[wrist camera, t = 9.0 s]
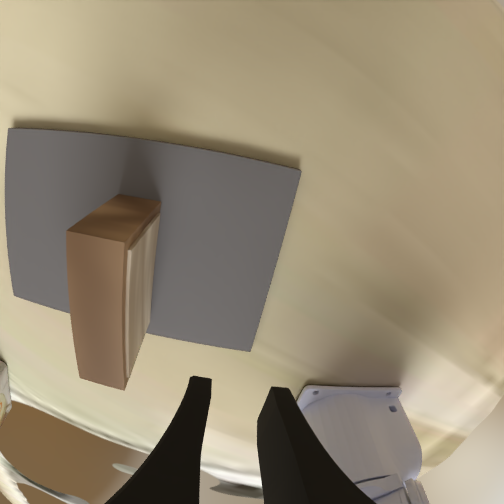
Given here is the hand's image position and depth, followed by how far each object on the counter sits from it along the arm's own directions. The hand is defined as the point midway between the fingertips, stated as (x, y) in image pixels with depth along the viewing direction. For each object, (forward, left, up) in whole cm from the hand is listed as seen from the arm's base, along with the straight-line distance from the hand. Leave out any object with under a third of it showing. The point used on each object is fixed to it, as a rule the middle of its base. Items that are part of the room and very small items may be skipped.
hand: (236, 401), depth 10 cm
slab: (+6, 0, -9) cm, 11 cm away
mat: (+7, -1, -9) cm, 12 cm away
